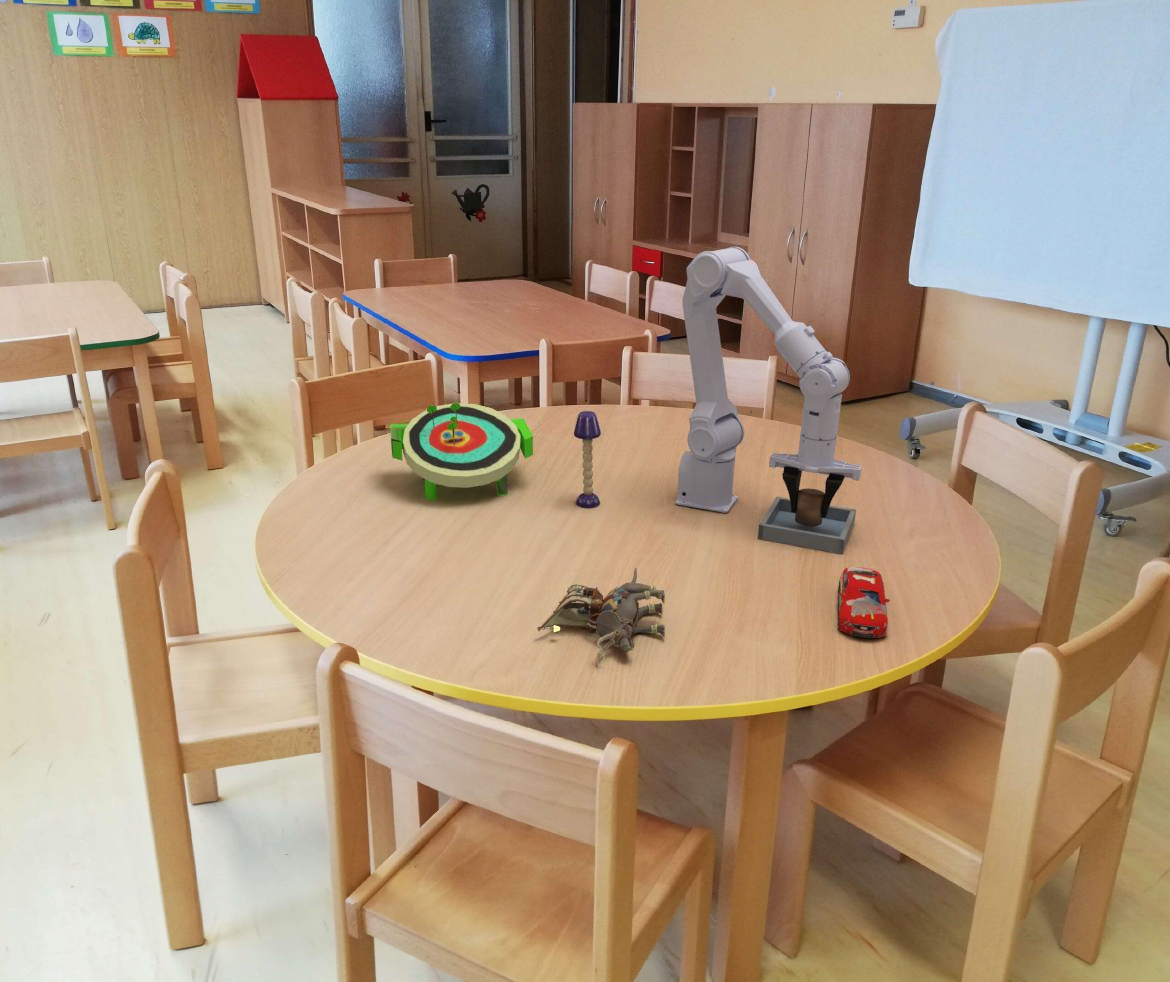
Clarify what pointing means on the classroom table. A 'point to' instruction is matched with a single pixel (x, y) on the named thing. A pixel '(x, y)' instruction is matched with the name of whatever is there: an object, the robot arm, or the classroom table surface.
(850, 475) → the robot arm
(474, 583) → the classroom table surface
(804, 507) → the walnut post
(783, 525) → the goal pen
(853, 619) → the race car
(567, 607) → the figurine
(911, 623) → the classroom table surface
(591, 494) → the toy lamp
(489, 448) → the dartboard
